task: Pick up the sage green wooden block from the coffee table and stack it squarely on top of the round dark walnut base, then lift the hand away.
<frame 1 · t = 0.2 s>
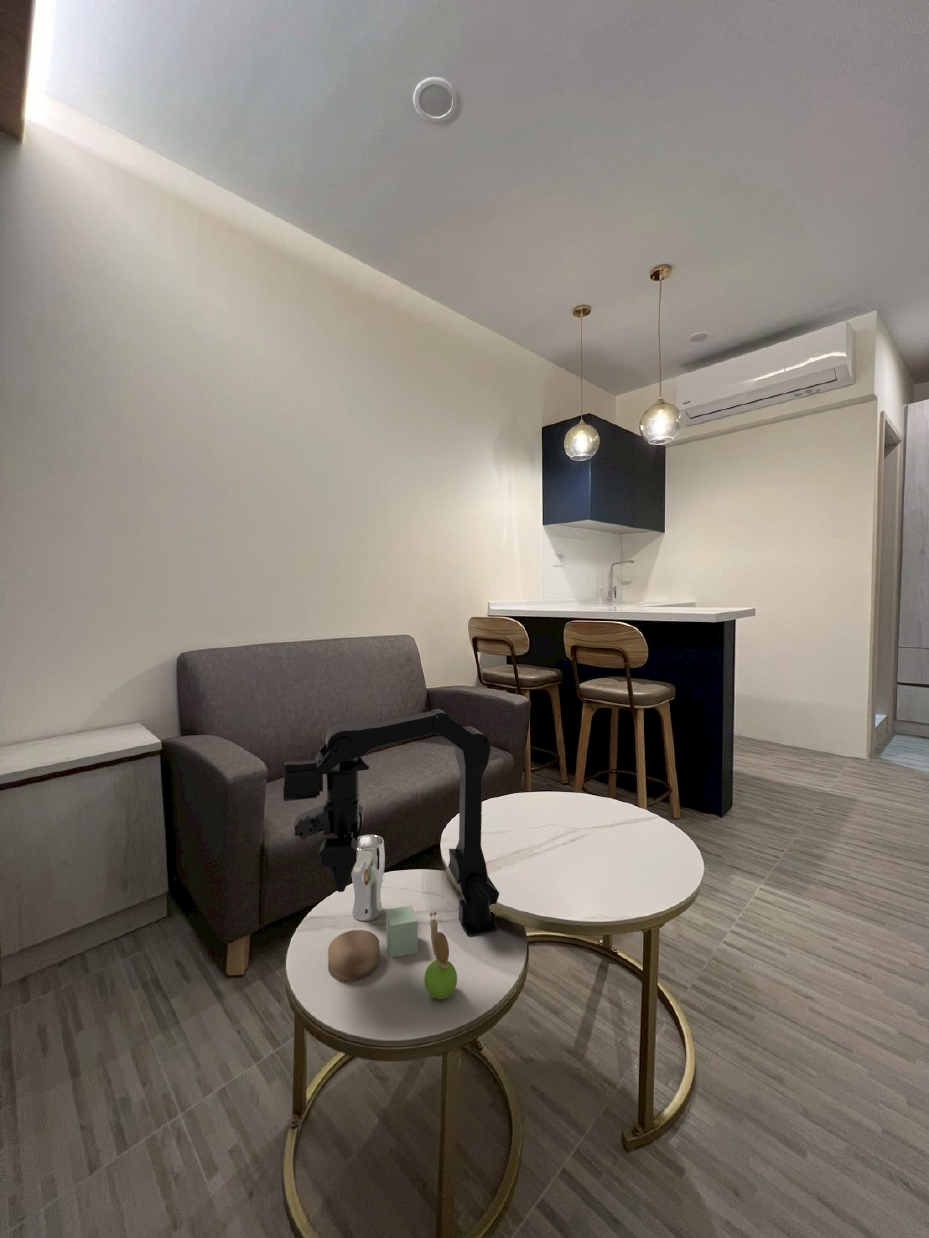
hand: (343, 876, 93), 14 cm above the table, tool pointing down, fingers open, 9 cm apart
sage block: (401, 945, 95), on the table
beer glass: (367, 913, 105), on the table
walnut base: (354, 962, 90), on the table
snail figurine: (439, 993, 83), on the table
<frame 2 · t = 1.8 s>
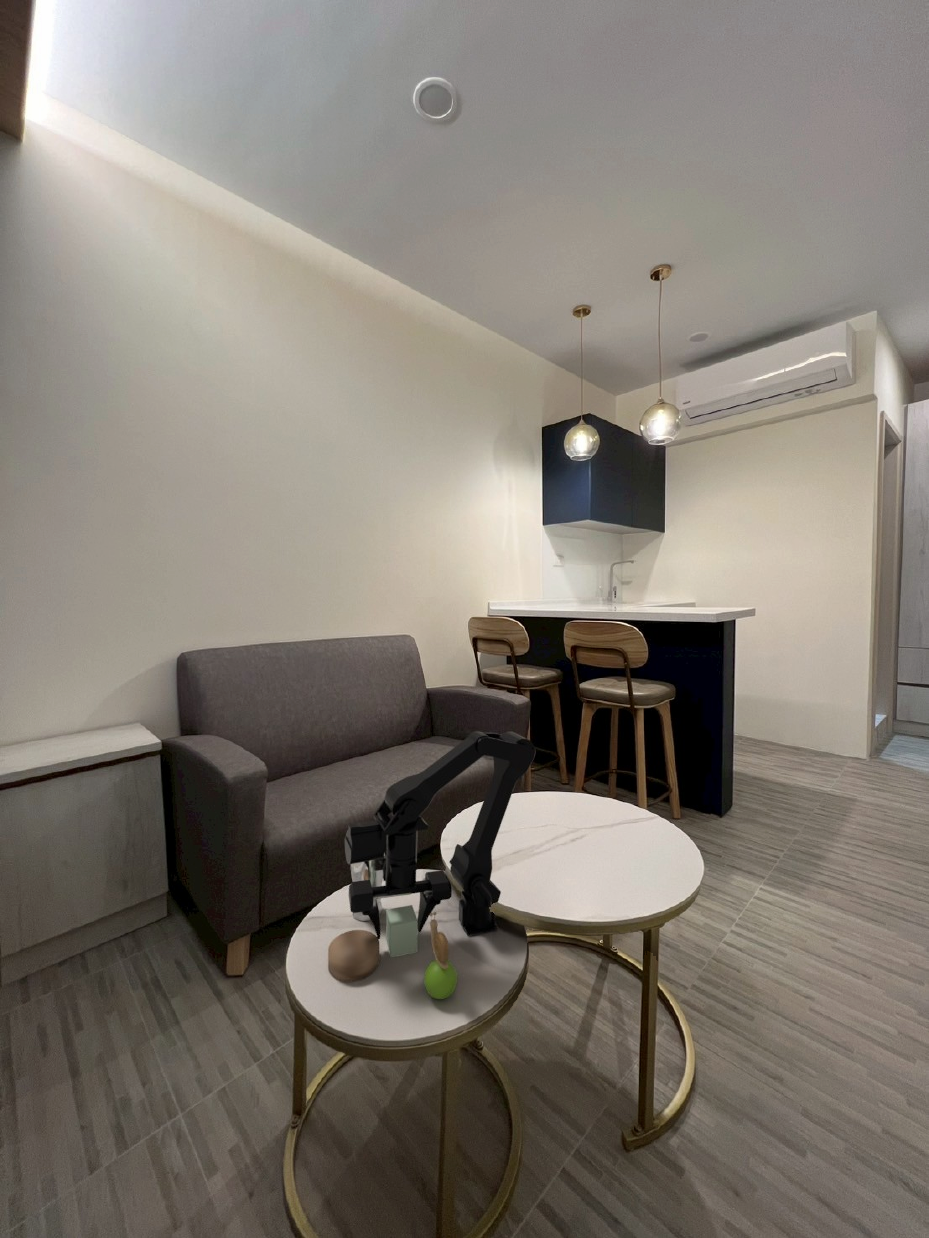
hand: (398, 934, 94), 2 cm above the table, tool pointing down, fingers open, 7 cm apart
nothing on the table moved.
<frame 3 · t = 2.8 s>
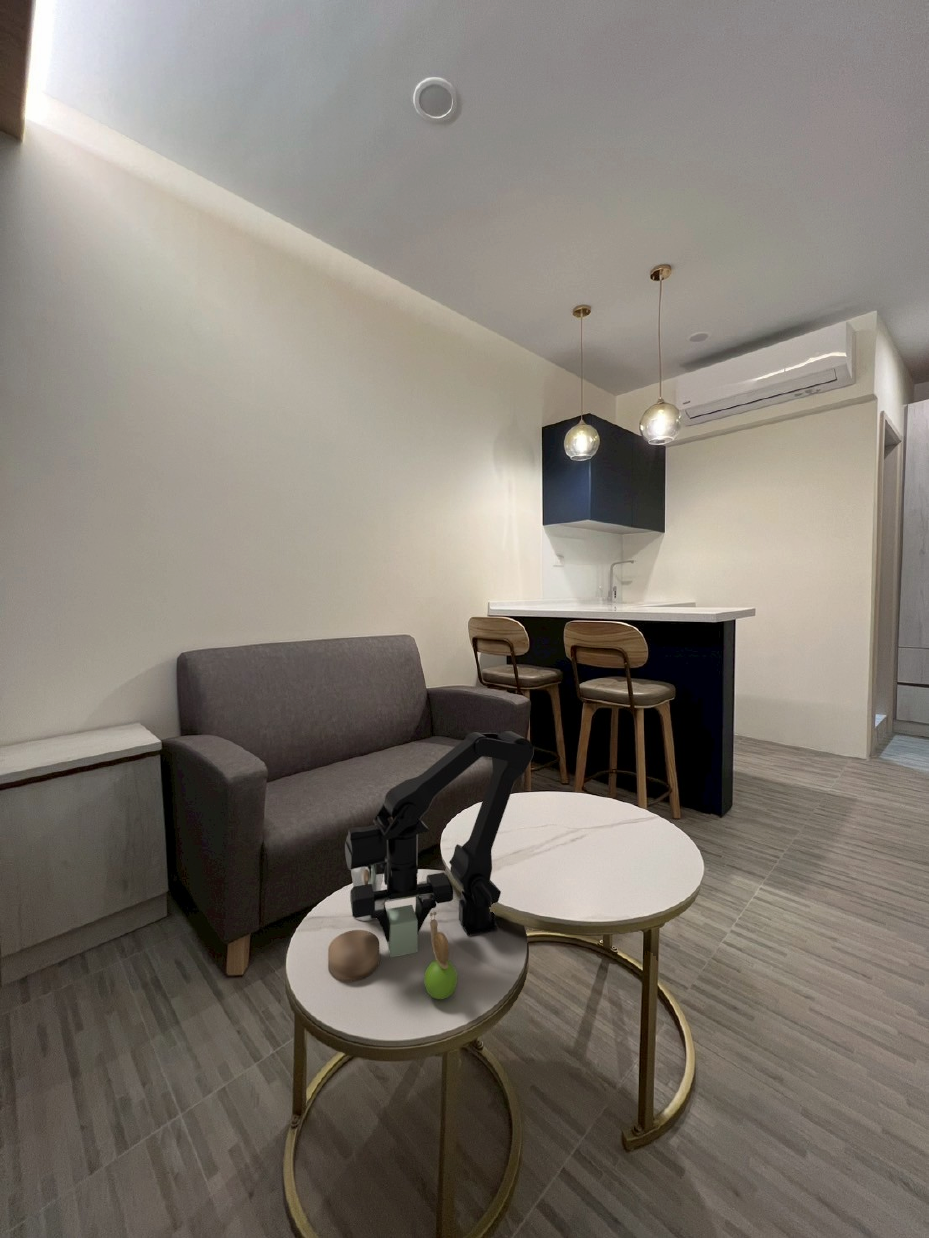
hand: (401, 937, 95), 2 cm above the table, tool pointing down, fingers closed on sage block, 5 cm apart
sage block: (401, 945, 95), on the table, touching gripper
everything else where it was.
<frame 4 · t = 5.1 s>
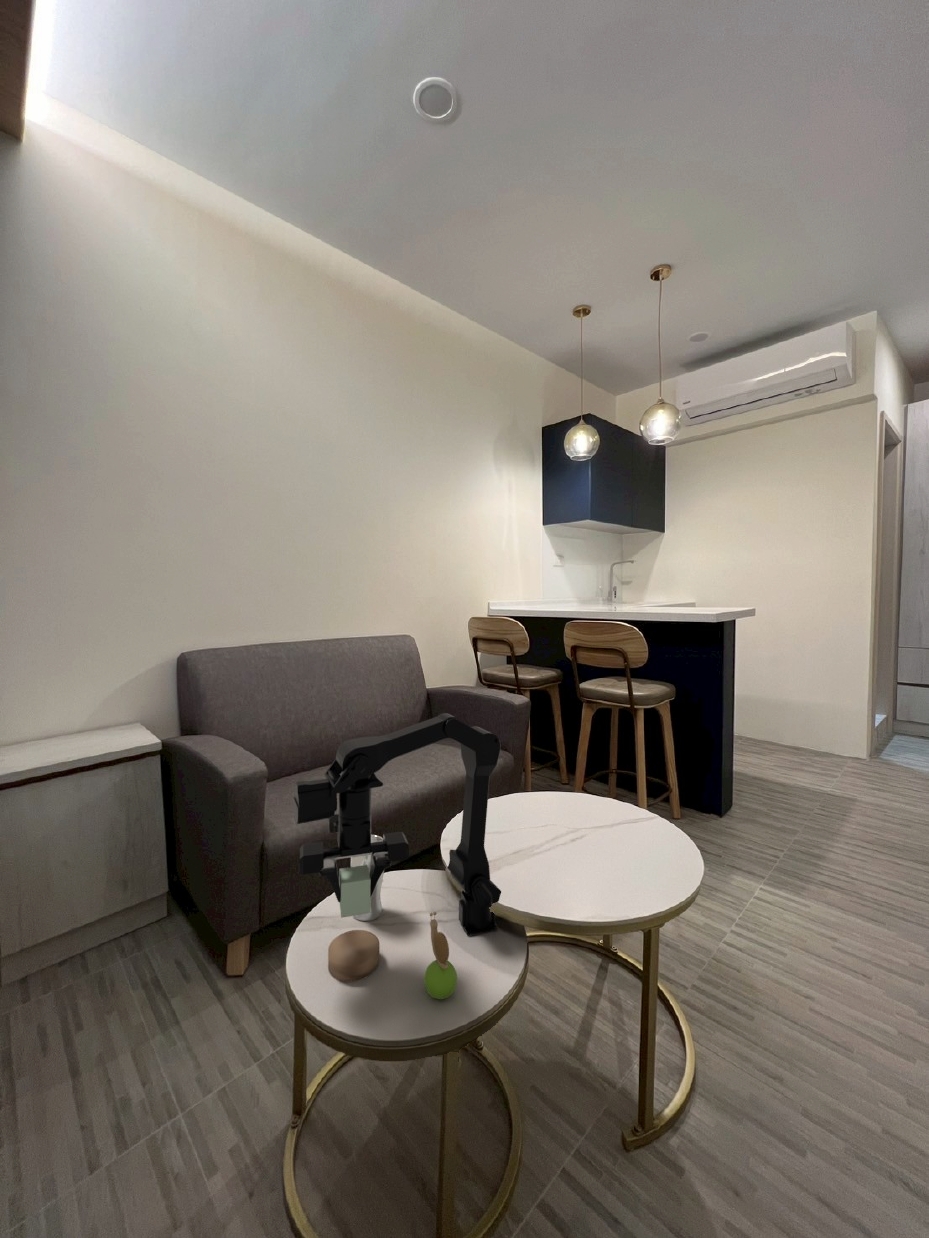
hand: (354, 898, 90), 12 cm above the table, tool pointing down, fingers closed on sage block, 5 cm apart
sage block: (354, 906, 90), point 10 cm above the table, touching gripper
everything else where it was.
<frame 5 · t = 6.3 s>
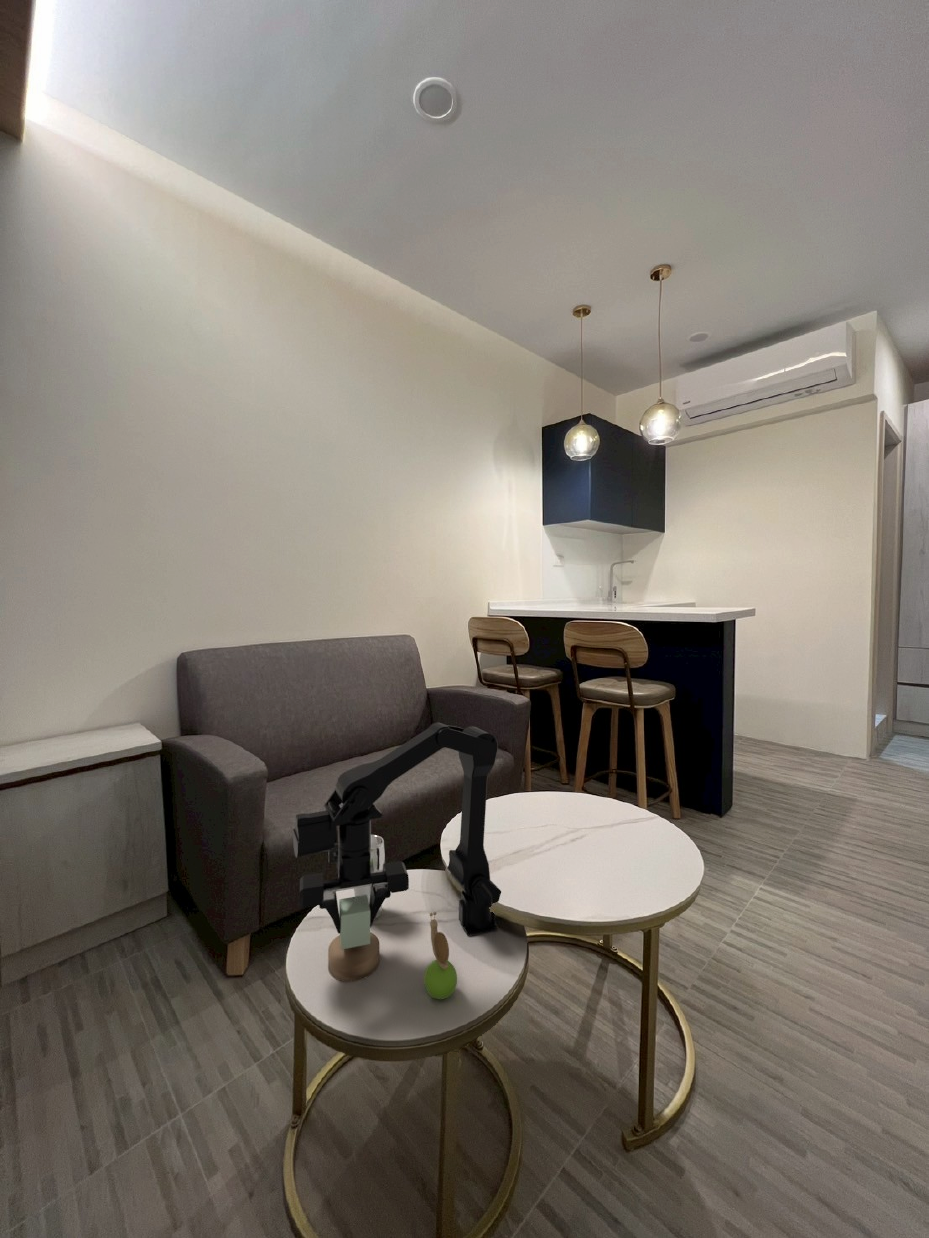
hand: (354, 929, 90), 6 cm above the table, tool pointing down, fingers closed on sage block, 5 cm apart
sage block: (354, 937, 90), point 5 cm above the table, touching gripper
everything else where it was.
when the fingers open (6 cm above the table, at t = 7.4 s): sage block drops 1 cm, resting on walnut base.
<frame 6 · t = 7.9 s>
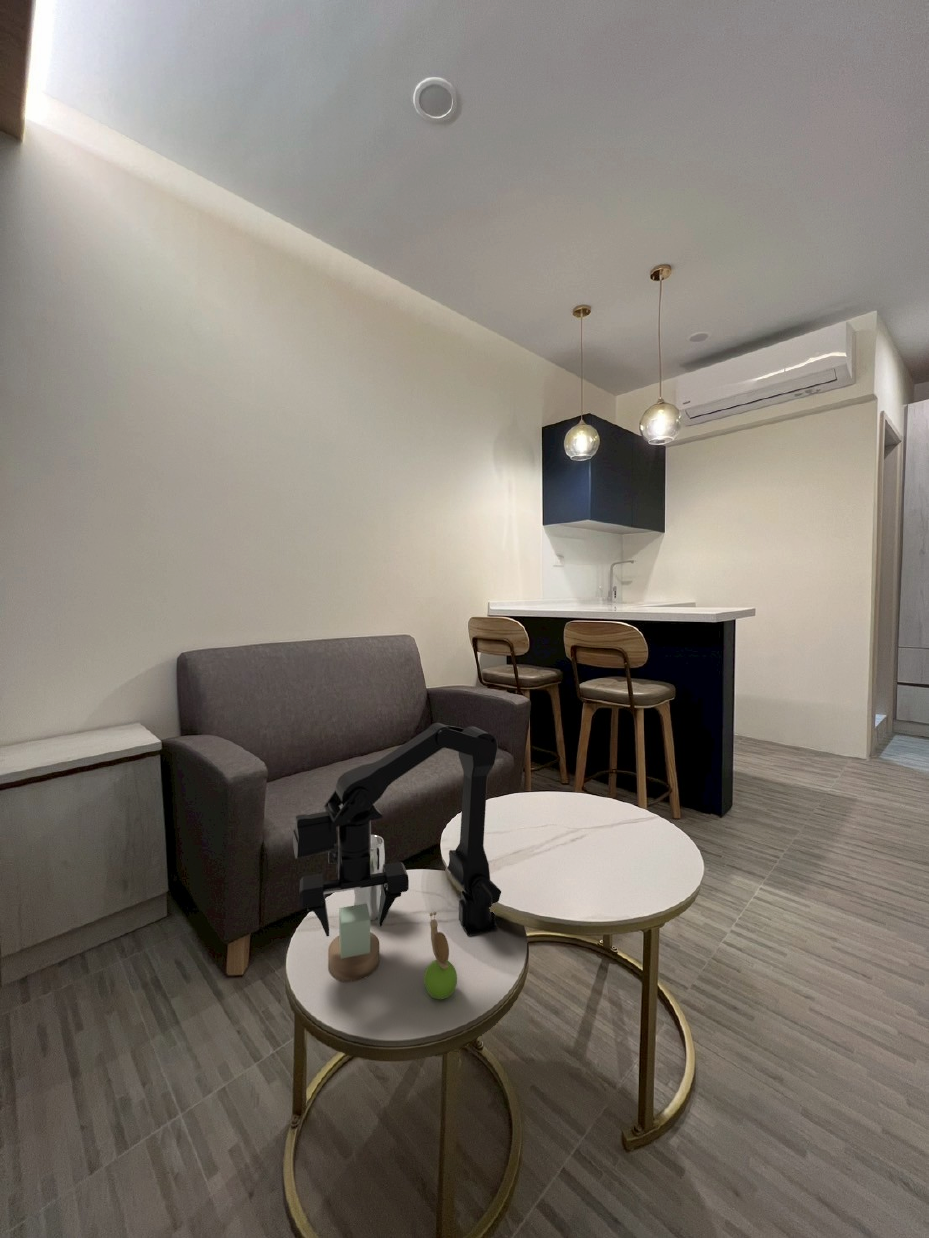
hand: (354, 929, 90), 6 cm above the table, tool pointing down, fingers open, 9 cm apart
sage block: (354, 946, 90), point 3 cm above the table, touching walnut base
everything else where it was.
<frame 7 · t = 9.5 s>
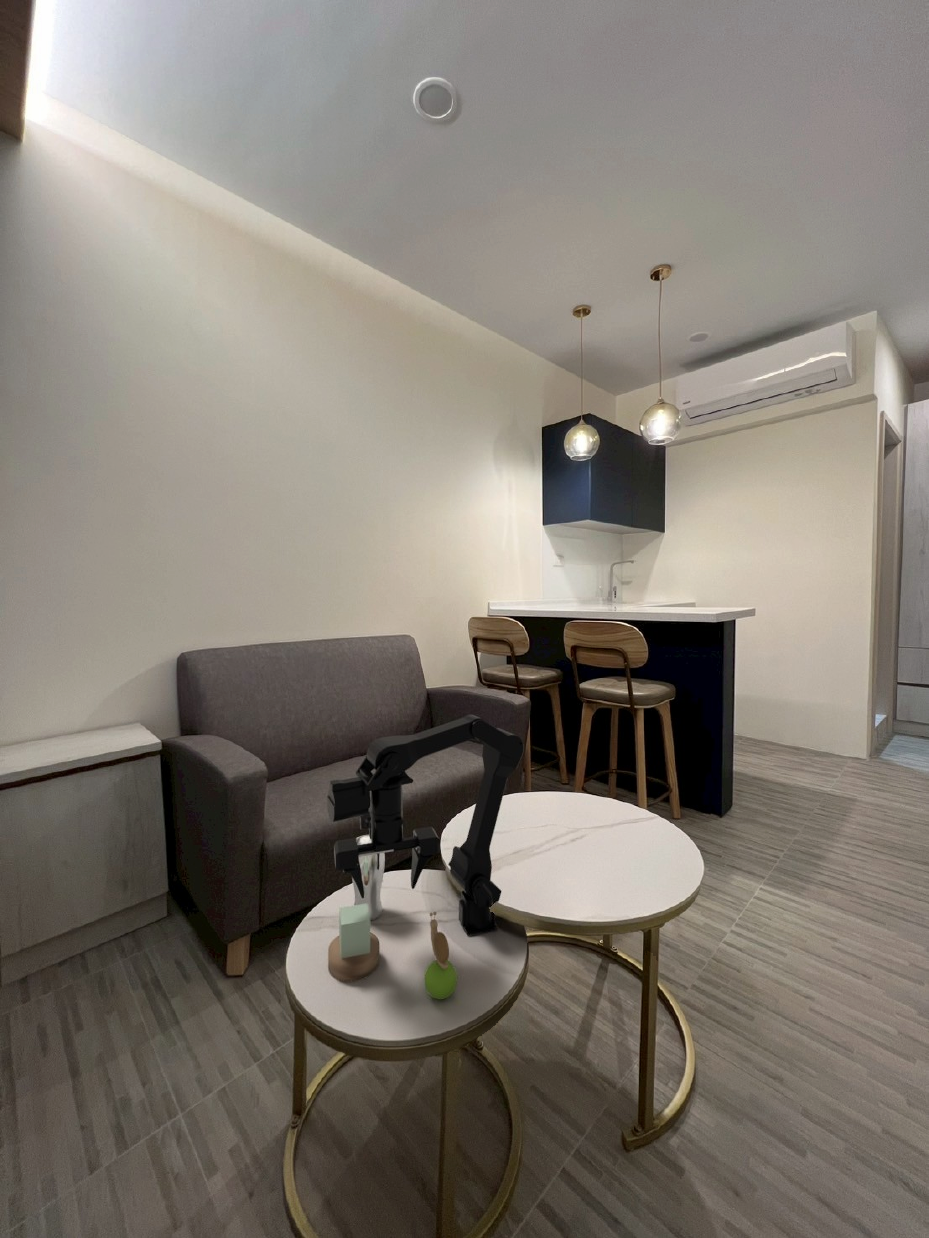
hand: (388, 892, 92), 12 cm above the table, tool pointing down, fingers open, 9 cm apart
nothing on the table moved.
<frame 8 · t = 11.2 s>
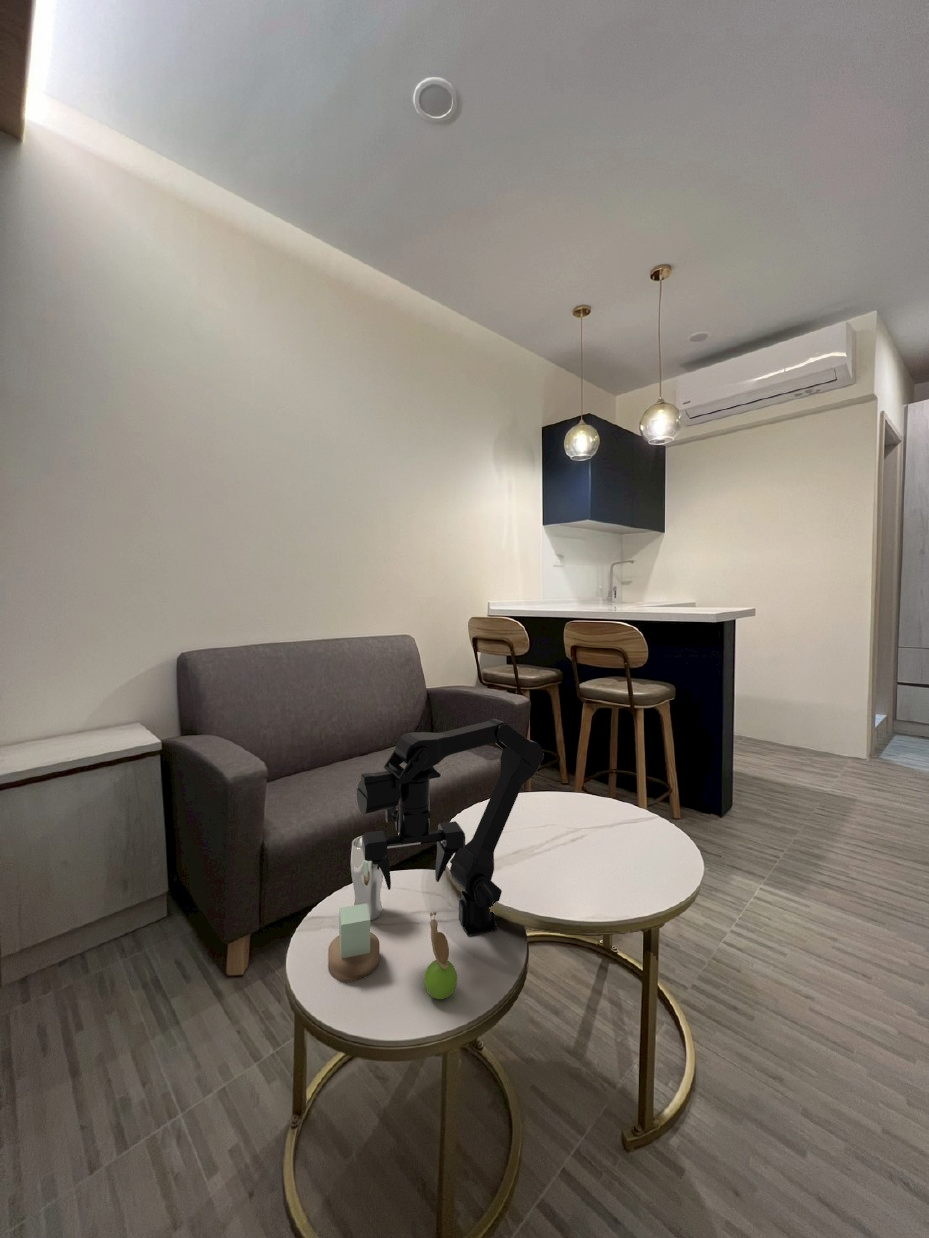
hand: (413, 884, 94), 12 cm above the table, tool pointing down, fingers open, 9 cm apart
nothing on the table moved.
at the end: sage block 0.1 cm off-centre on the walnut base, point 3.0 cm above the walnut base's base; sage block tilted 0°; the gripper is holding nothing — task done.
